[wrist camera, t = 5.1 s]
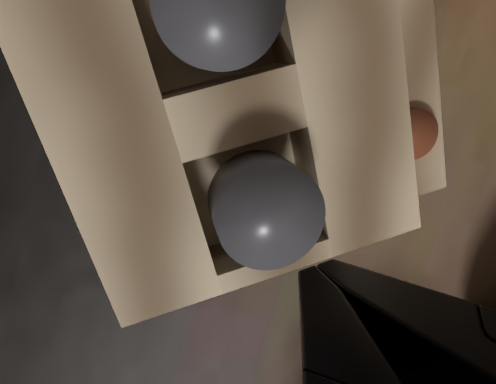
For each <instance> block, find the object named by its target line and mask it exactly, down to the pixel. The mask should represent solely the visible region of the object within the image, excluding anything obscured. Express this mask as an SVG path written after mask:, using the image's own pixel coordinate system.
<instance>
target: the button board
mask: <svg viewBox="0 0 496 384" xmlns="http://www.w3.org/2000/svg"><path fill="white" fill-rule="evenodd" d="M0 47H1V50H2V52H3V54H4V57H5V59H6V61H7V63H8V66H9V68H10V70H11V73H12V75H13V77H14V80H15V82H16V84H17V87H18V89H19V91H20V94H21V96H22V98H23V101H24V103H25V105H26V108H27V110H28V112H29V115H30V117H31V119H32V122H33V124H34V126H35V128H36V131H37V133H38V135H39V138H40V140H41V142H42V145H43V147H44V149H45V152H46V154H47V156H48V159H49V161H50V163H51V166H52V168H53V170H54V173H55V175H56V177H57V180H58V182H59V184H60V186H61V189H62V191H63V193H64V196H65V198H66V200H67V203H68V205H69V207H70V210H71V212H72V214H73V217H74V219H75V221H76V224H77V226H78V228H79V231H80V233H81V235H82V238H83V240H84V242H85V244H86V247H87V249H88V251H89V254H90V256H91V258H92V261H93V263H94V265H95V268H96V270H97V272H98V275H99V277H100V279H101V282H102V284H103V286H104V289H105V291H106V293H107V296H108V298H109V300H110V302H111V305H112V307H113V309H114V312H115V314H116V316H117V319H118V321H119V323H120V326H121V328H123V327H126V326H129V325H132V324H135V323H138V322H141V321H144V320H147V319H150V318H153V317H156V316H159V315H162V314H165V313H168V312H171V311H174V310H177V309H180V308H183V307H186V306H189V305H192V304H195V303H198V302H201V301H204V300H206V299H209V298H212V297H215V296H218V295H221V294H224V293H227V292H230V291H233V290H236V289H239V288H242V287H245V286H248V285H251V284H254V283H257V282H260V281H263V280H266V279H269V278H272V277H275V276H278V275H281V274H284V273H287V272H290V271H293V270H296V269H299V268H302V267H305V266H308V265H311V264H314V263H317V262H320V261H323V260H326V259H328V258H331V257H334V256H337V255H340V254H343V253H346V252H349V251H352V250H355V249H358V248H361V247H364V246H367V245H370V244H373V243H376V242H379V241H382V240H385V239H388V238H391V237H394V236H397V235H400V234H403V233H406V232H409V231H412V230H415V229H418V228H421V222H420V212H419V201H418V196H420V195H423V194H426V193H429V192H432V191H436V190H439V189H442V188H445V187H446V174H445V159H444V144H443V129H442V114H441V100H440V85H439V70H438V55H437V40H436V26H435V11H434V0H286V7H285V15H284V19H283V23H282V26H281V29H280V32H279V34H278V36H277V38H276V39H275V41H274V43H273V44H272V46H271V47H270V48H269V49H268V50H267V52H266V53H265V54H264V55H262V56H261V57H260V58H259V59H258V60H256V61H255V62H253V63H252V64H250V65H248V66H246V67H244V68H241V69H238V70H234V71H228V72H215V71H208V70H204V69H200V68H195V67H193V66H190V65H187V64H186V63H184V62H182V61H180V60H179V59H177V58H176V57H175V56H174V55H173V54H171V53H170V52H169V51H168V49H167V48H166V47H165V46H164V45H163V43H162V42H161V40H160V39H159V37H158V35H157V33H156V30H155V28H154V25H153V22H152V17H151V11H150V0H0ZM249 150H268V151H272V152H275V153H278V154H280V155H282V156H283V157H285V158H286V159H288V160H289V161H290V162H292V163H293V164H294V165H295V166H297V167H298V168H299V169H301V170H302V171H303V172H305V173H306V174H307V175H309V176H310V177H311V178H312V179H313V180H314V181H315V183H316V184H317V185H318V187H319V189H320V190H321V192H322V195H323V198H324V202H325V208H326V216H325V223H324V227H323V230H322V232H321V235H320V237H319V239H318V240H317V242H316V244H315V245H314V246H313V248H312V249H311V250H310V251H309V252H308V253H307V254H306V255H305V256H304V257H302V258H301V259H299V260H298V261H297V262H295V263H293V264H291V265H289V266H286V267H284V268H280V269H275V270H255V269H251V268H248V267H245V266H243V265H241V264H239V263H237V262H236V261H235V260H233V259H232V258H231V257H230V256H229V255H228V254H227V253H226V251H225V250H224V249H223V247H222V245H221V243H220V241H219V238H218V235H217V232H216V230H215V227H214V224H213V221H212V219H211V216H210V213H209V209H208V201H207V199H208V190H209V186H210V183H211V181H212V179H213V177H214V175H215V173H216V172H217V170H218V169H219V168H220V167H221V166H222V165H223V164H224V163H225V162H226V161H227V160H229V159H230V158H232V157H233V156H235V155H237V154H239V153H242V152H245V151H249Z"/></svg>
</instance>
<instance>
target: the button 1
mask: <svg viewBox="0 0 496 384" xmlns="http://www.w3.org/2000/svg"><path fill="white" fill-rule="evenodd" d="M207 201H208V209H209V213H210V216H211V219H212V221H213V224H214V227H215V230H216V232H217V235H218V238H219V241H220V243H221V245H222V247H223V249H224V250H225V251H226V253H227V254H228V255H229V256H230V257H231V258H232V259H233V260H235V261H236V262H237V263H239V264H241V265H243V266H245V267H248V268H251V269H255V270H275V269H280V268H284V267H286V266H289V265H291V264H293V263H295V262H297V261H298V260H299V259H301V258H302V257H304V256H305V255H306V254H307V253H308V252H309V251H310V250H311V249H312V248H313V246H314V245H315V244H316V242H317V240H318V239H319V237H320V235H321V232H322V230H323V227H324V223H325V216H326V208H325V202H324V198H323V195H322V192H321V190H320V189H319V187H318V185H317V184H316V183H315V181H314V180H313V179H312V178H311V177H310V176H309V175H307V174H306V173H305V172H303V171H302V170H301V169H299V168H298V167H297V166H295V165H294V164H293V163H292V162H290V161H289V160H288V159H286V158H285V157H283V156H282V155H280V154H278V153H275V152H272V151H268V150H249V151H245V152H242V153H239V154H237V155H235V156H233V157H232V158H230V159H229V160H227V161H226V162H225V163H224V164H223V165H222V166H221V167H220V168H219V169H218V170H217V172H216V173H215V175H214V177H213V179H212V181H211V183H210V186H209V190H208V199H207Z"/></svg>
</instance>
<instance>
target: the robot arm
mask: <svg viewBox="0 0 496 384" xmlns="http://www.w3.org/2000/svg"><path fill="white" fill-rule="evenodd" d="M298 281H299V303H300V326H301V348H302V371H303V375H302V377H303V384H496V309H493V308H490V307H486V306H483V305H479V306H477V304H476V303H473V302H470V301H467V300H463V299H460V298H457V297H454V296H451V295H447V294H444V293H441V292H438V291H435V290H431V289H428V288H425V287H422V286H418V285H415V284H412V283H409V282H406V281H402V280H399V279H396V278H393V277H390V276H386V275H383V274H380V273H377V272H374V271H370V270H367V269H364V268H361V267H358V266H354V265H351V264H348V263H345V262H341V261H338V260H334V259H332V260H329V261H326V262H323V263H320V264H318V265H317V267H316V266H312V267H309V268H306V269H303V270H300V271H299V273H298Z"/></svg>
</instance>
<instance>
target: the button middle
mask: <svg viewBox="0 0 496 384" xmlns="http://www.w3.org/2000/svg"><path fill="white" fill-rule="evenodd" d="M285 7H286V0H150V11H151V17H152V22H153V25H154V28H155V30H156V33H157V35H158V37H159V39H160V40H161V42H162V43H163V45H164V46H165V47H166V48H167V49H168V51H169V52H170V53H171V54H173V55H174V56H175V57H176V58H177V59H179V60H180V61H182V62H184V63H186V64H187V65H190V66H193V67H195V68H200V69H204V70H208V71H215V72H228V71H234V70H238V69H241V68H244V67H246V66H248V65H250V64H252V63H253V62H255V61H256V60H258V59H259V58H260V57H261V56H262V55H264V54H265V53H266V52H267V50H268V49H269V48H270V47H271V46H272V44H273V43H274V41H275V39H276V38H277V36H278V34H279V32H280V29H281V26H282V23H283V19H284V15H285Z"/></svg>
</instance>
